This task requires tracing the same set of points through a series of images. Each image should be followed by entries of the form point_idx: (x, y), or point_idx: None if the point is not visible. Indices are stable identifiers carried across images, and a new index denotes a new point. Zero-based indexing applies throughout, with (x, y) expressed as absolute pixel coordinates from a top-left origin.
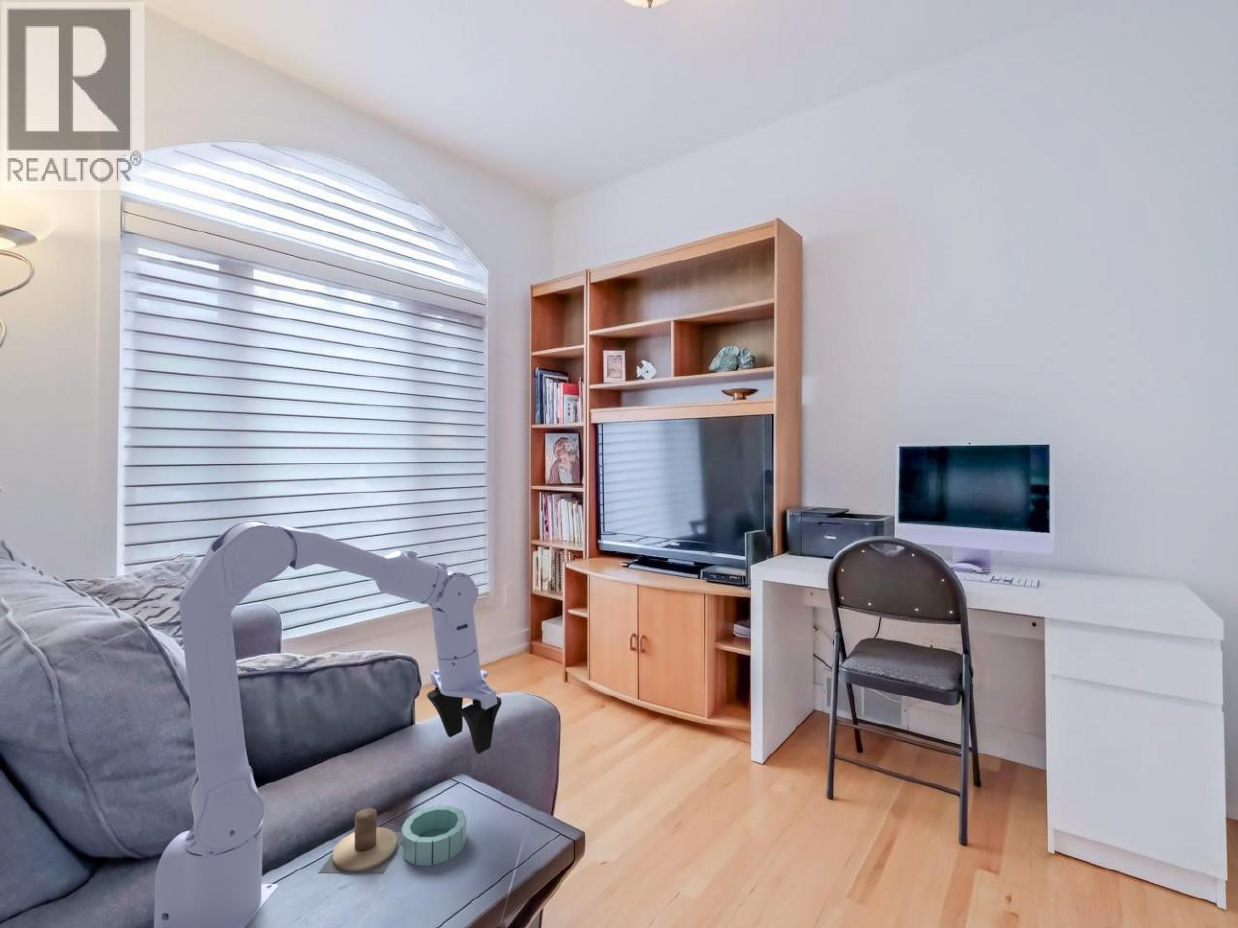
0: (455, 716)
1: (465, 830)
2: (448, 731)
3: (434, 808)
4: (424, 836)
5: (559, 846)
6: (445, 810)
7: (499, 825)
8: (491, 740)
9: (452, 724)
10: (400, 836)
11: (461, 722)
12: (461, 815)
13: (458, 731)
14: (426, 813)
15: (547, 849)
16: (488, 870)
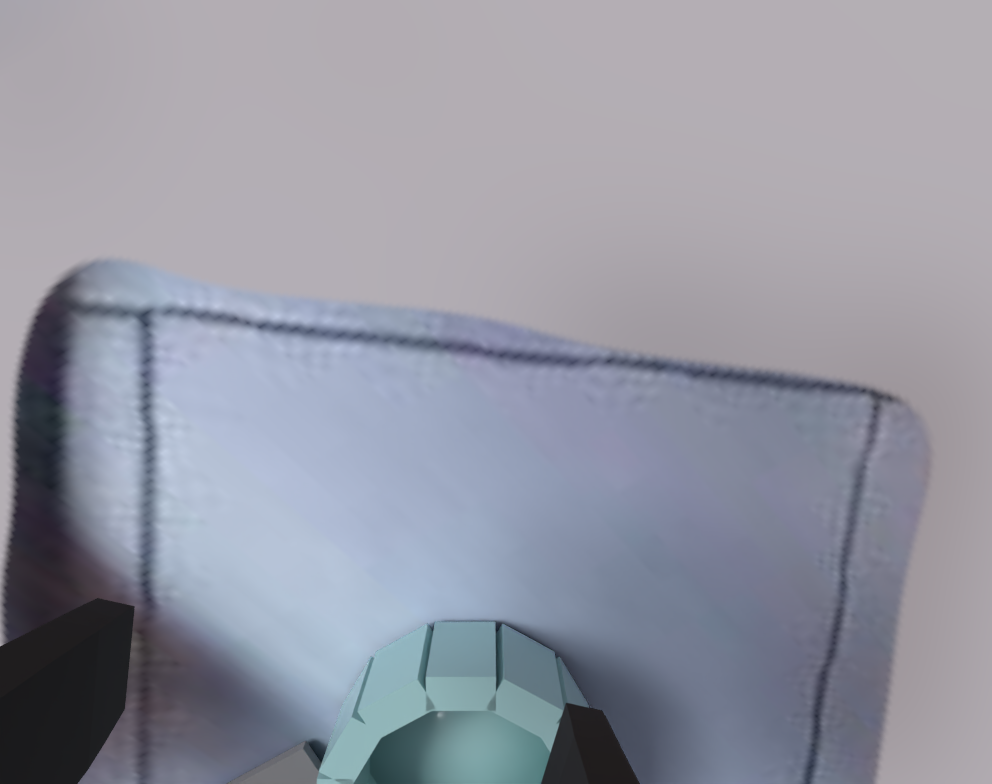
0: (8, 763)
1: (572, 701)
2: (88, 762)
3: (367, 734)
4: (395, 740)
5: (919, 469)
6: (423, 713)
7: (593, 488)
8: (616, 739)
9: (57, 753)
10: (303, 781)
11: (85, 655)
12: (529, 709)
13: (123, 645)
14: (360, 769)
15: (883, 509)
16: (745, 716)
